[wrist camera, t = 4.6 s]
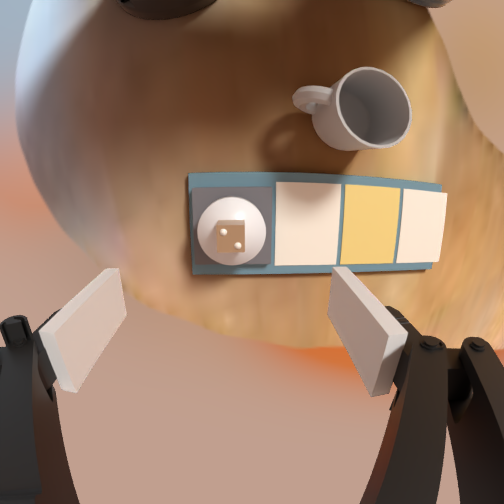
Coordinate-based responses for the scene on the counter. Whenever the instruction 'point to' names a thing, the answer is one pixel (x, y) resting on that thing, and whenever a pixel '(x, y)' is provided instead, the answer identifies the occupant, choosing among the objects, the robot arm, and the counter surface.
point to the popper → (231, 230)
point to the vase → (430, 3)
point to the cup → (358, 110)
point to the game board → (326, 221)
